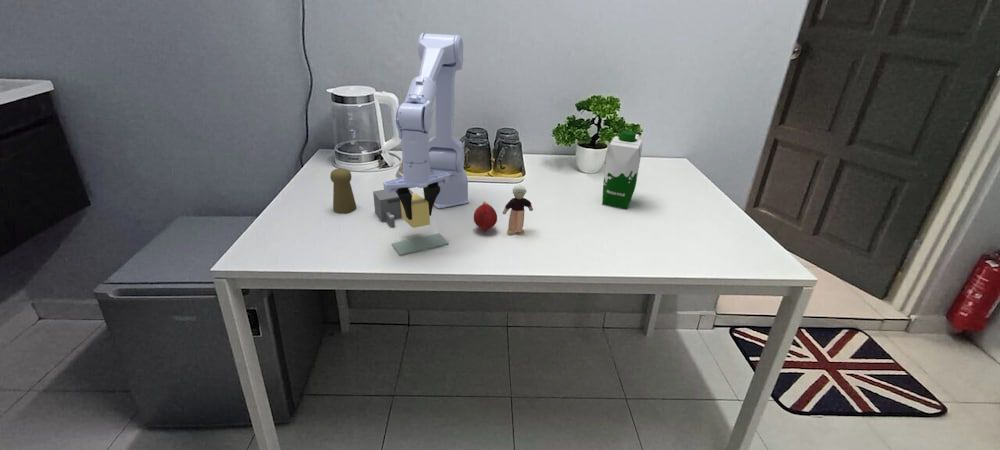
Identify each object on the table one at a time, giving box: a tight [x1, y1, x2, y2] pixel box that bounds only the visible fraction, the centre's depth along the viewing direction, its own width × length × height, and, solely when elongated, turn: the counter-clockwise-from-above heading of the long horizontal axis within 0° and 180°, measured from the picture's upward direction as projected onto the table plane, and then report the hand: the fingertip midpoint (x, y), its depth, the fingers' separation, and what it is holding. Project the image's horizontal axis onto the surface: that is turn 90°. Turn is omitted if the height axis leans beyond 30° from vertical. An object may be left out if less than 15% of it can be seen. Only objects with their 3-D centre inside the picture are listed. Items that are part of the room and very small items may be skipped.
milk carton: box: [601, 130, 643, 210], centre depth 135 cm, size 9×9×20 cm
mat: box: [391, 232, 450, 257], centre depth 115 cm, size 12×6×1 cm, turn 119°
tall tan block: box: [400, 192, 431, 229], centre depth 113 cm, size 4×8×6 cm, turn 29°
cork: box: [329, 167, 358, 215], centre depth 128 cm, size 6×6×11 cm
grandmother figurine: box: [502, 184, 534, 236], centre depth 119 cm, size 8×4×13 cm, turn 117°
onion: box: [473, 200, 498, 232], centre depth 120 cm, size 6×6×8 cm
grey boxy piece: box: [372, 188, 414, 228], centre depth 126 cm, size 9×10×6 cm
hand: (418, 216), depth 111 cm, fingers closed on tall tan block, 4 cm apart
